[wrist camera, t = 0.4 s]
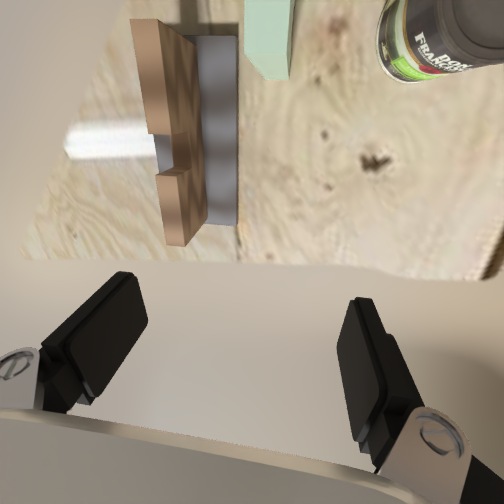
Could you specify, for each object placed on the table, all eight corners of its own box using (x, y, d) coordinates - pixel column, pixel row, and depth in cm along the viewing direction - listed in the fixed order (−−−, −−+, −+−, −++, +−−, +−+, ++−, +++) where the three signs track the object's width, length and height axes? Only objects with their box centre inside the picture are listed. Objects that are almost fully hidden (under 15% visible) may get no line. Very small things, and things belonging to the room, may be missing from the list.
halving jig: (144, 38, 31) (75, 3, 21) (238, 38, 30) (211, 1, 20) (170, 217, 43) (133, 248, 33) (237, 222, 42) (221, 257, 32)
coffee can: (436, 96, 30) (536, 85, 18) (358, 66, 29) (404, 33, 17) (507, -20, 25) (718, -149, 12) (412, -58, 24) (534, -231, 12)
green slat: (265, 79, 31) (244, 53, 18) (270, -34, 26) (246, -195, 13) (288, 80, 31) (286, 53, 17) (298, -35, 26) (305, -201, 12)
